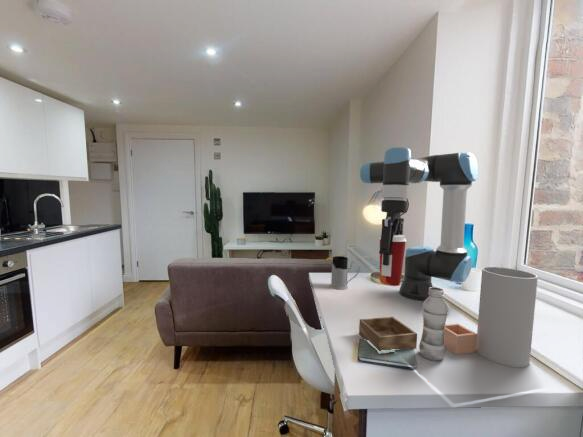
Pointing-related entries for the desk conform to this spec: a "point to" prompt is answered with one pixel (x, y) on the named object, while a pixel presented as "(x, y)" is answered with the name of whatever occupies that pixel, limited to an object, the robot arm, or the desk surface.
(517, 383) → the desk surface
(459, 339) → the planter
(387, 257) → the robot arm
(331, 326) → the desk surface
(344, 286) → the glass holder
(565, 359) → the desk surface
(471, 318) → the desk surface
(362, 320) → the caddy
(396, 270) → the coffee cup
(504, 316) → the cylinder vase
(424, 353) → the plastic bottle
